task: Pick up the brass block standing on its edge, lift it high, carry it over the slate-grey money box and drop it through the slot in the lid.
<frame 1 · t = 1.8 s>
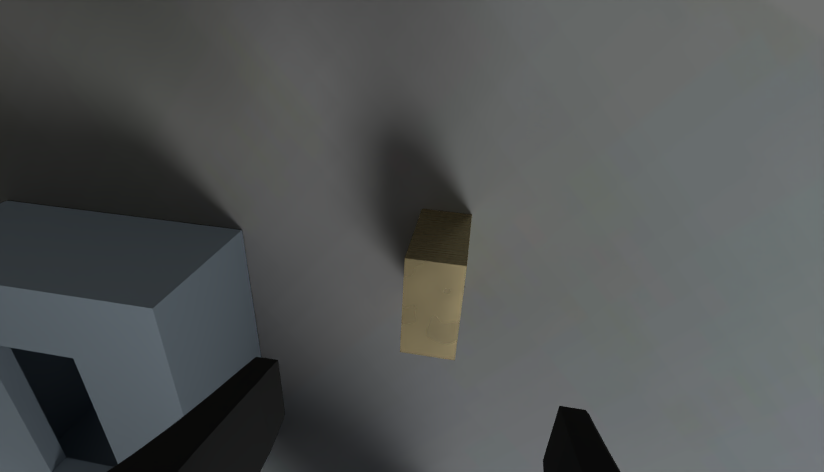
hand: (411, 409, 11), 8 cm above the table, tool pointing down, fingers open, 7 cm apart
brass block: (442, 254, 18), on the table
money box: (154, 332, 23), on the table
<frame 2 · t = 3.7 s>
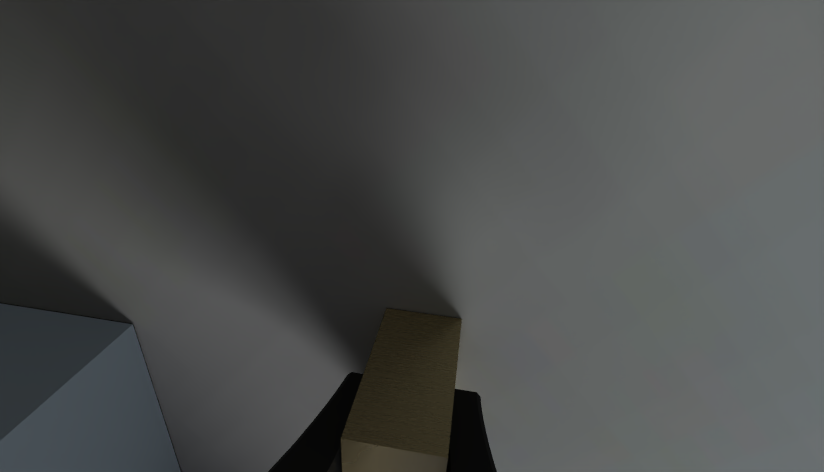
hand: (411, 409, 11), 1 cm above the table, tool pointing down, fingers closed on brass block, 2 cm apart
brass block: (419, 369, 12), on the table, touching gripper
money box: (42, 438, 17), on the table
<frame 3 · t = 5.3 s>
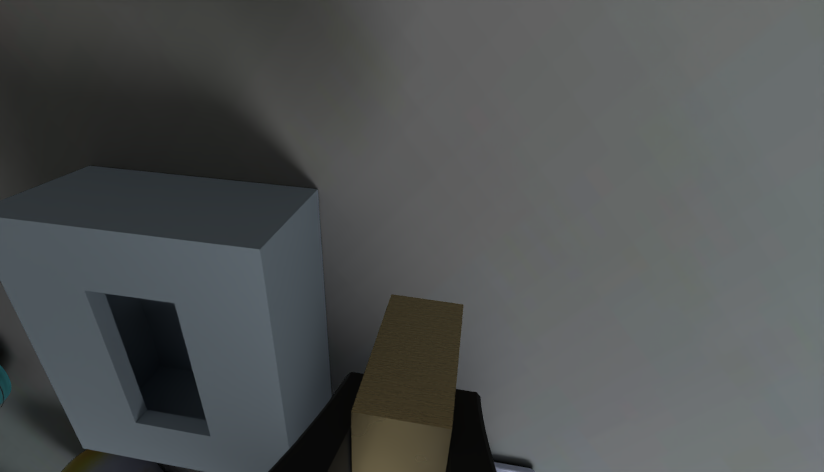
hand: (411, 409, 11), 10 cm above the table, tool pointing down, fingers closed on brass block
brass block: (422, 353, 13), point 8 cm above the table, touching gripper
money box: (223, 294, 24), on the table
mug: (160, 470, 35), on the table
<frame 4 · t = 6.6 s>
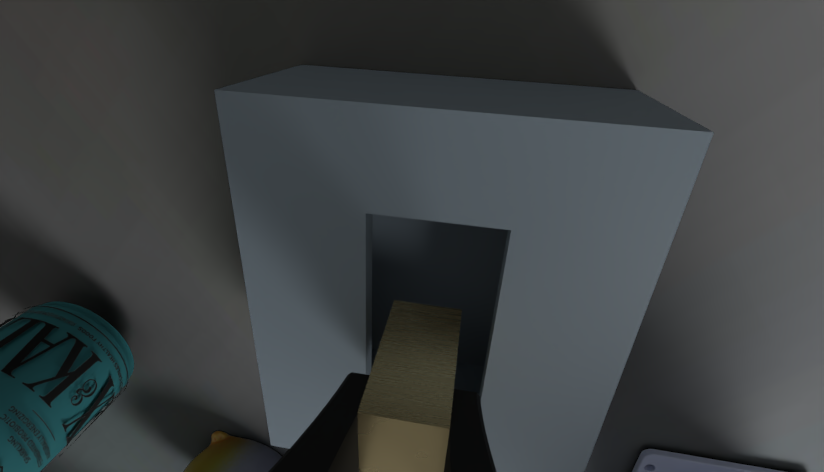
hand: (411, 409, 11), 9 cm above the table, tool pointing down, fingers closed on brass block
brass block: (423, 354, 14), point 6 cm above the table, touching gripper
beverage bottle: (106, 324, 25), on the table
money box: (444, 246, 19), on the table
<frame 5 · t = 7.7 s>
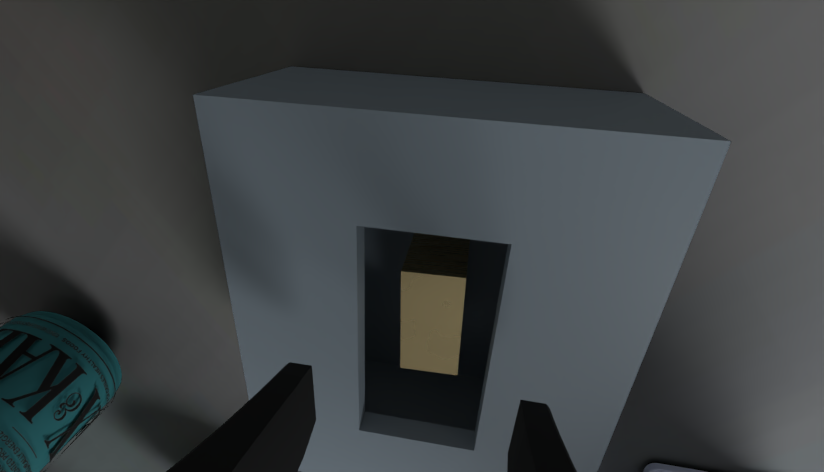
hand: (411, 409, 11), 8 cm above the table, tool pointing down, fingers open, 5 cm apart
brass block: (442, 263, 18), resting on money box
beverage bottle: (94, 334, 24), on the table
money box: (442, 255, 18), on the table
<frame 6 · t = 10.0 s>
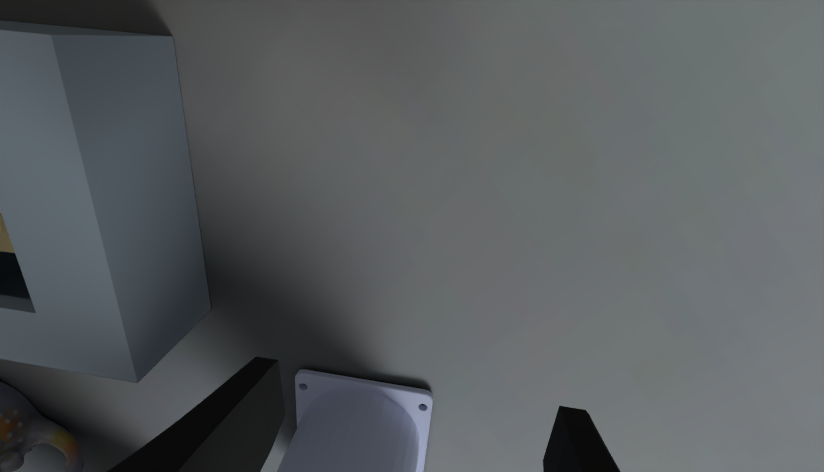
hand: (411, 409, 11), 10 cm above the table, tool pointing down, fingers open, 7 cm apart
brass block: (77, 181, 21), resting on money box
money box: (83, 177, 22), on the table
mug: (36, 414, 31), on the table
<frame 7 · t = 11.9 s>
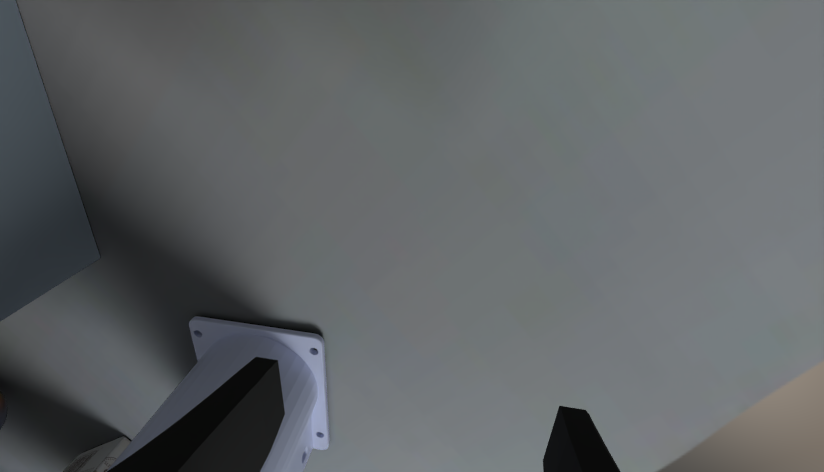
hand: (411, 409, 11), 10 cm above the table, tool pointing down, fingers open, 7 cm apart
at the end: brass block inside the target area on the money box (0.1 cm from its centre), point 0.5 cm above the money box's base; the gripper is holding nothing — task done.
